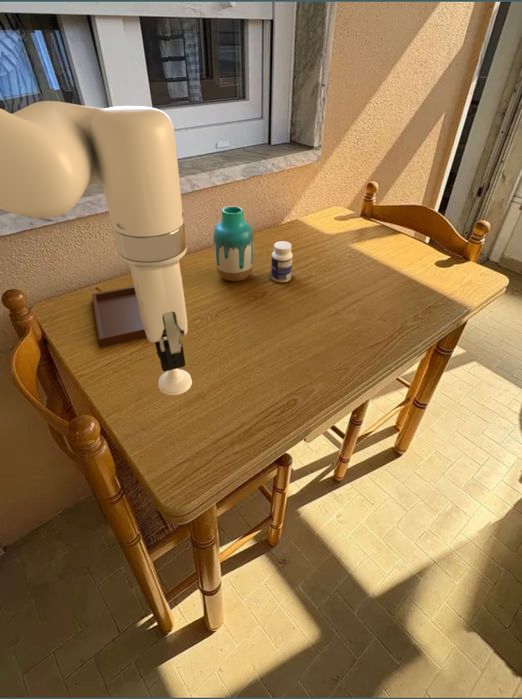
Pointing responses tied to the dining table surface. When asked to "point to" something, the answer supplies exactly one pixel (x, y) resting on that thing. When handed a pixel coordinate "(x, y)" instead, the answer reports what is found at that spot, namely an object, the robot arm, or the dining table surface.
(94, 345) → the dining table surface
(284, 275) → the pill bottle
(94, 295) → the tray
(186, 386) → the chess piece
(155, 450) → the dining table surface
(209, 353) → the dining table surface
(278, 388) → the dining table surface
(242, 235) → the vase
